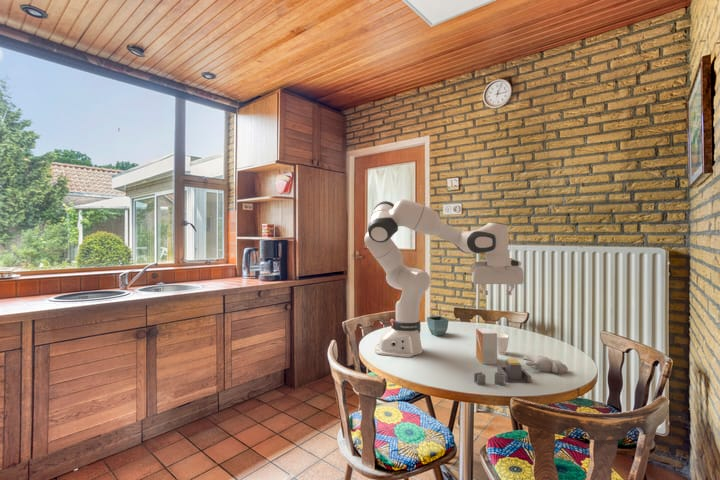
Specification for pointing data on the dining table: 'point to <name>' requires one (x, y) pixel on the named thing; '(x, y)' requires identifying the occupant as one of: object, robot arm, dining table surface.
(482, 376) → the clip
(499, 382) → the clip
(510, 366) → the connector
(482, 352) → the small box
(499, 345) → the cup
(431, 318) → the flower pot
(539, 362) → the bunny figurine
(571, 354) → the dining table surface
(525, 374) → the end holder
